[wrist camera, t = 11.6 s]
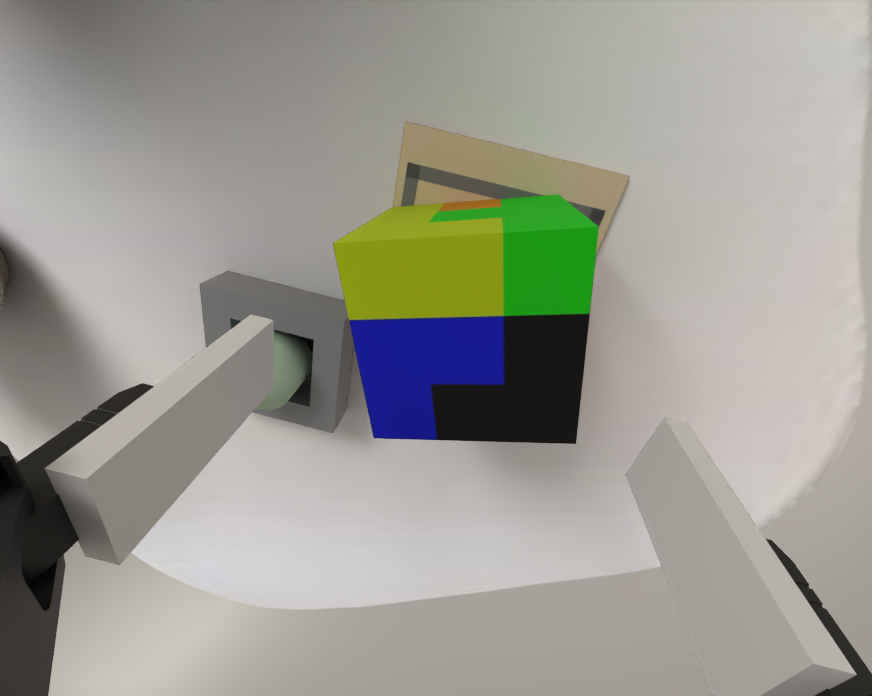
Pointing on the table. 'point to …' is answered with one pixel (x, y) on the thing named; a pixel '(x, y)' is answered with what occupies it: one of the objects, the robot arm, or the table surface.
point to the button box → (294, 314)
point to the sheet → (498, 175)
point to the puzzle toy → (472, 318)
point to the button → (287, 369)
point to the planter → (3, 277)
